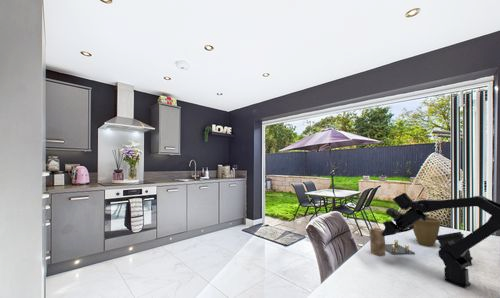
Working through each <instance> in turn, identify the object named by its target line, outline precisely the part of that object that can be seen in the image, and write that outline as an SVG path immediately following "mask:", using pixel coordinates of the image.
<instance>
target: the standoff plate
mask: <svg viewBox="0 0 500 298" xmlns="http://www.w3.org/2000/svg"><path fill="white" fill-rule="evenodd" d="M409 248H410V247H409V245H407V244H405V245H404V246H402V245H400V244H399V240H398V239H395V240H394V243H390V244H389V243H387V244H386V243H385V252H386V253H389V254H390V255H393V256H394V255H395V256H396V255H399V256H403V255H404V256H407V255H413V256H414V255H416V252H415V251H412V249H411V250H410V249H409Z"/></svg>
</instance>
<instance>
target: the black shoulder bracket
mask: <svg viewBox="0 0 500 298" xmlns="http://www.w3.org/2000/svg"><path fill="white" fill-rule="evenodd" d="M436 237H437V238H436V241H438V243H439V247H442V246H444V245H445V244H446V243H447V242H450V241H452V240H453V241H454V243H457V242H459V241H460V240H461V239H463V238H464V237H465V235H464V233H462V232H461V231H458V232H457V231H456V232H451V233H446V234H445V233H444V234H438V236H436ZM463 257H464V258H465V259H466V260H467V261H468V262H469V263H470V264H469V266H471V265H472V263H473V262H472V260H473V257H472V256H471V251H470V249H469V250H468V251H467V252H466V254H465V255H464V256H463ZM469 266H468V267H469Z"/></svg>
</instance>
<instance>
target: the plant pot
mask: <svg viewBox="0 0 500 298" xmlns="http://www.w3.org/2000/svg"><path fill="white" fill-rule="evenodd" d="M428 219H429V220H426V221H424V220H423V219H422V218H421V219H420V220H418V221H417V222H415V223H416V224H414V228H413V229H412V231H413V233H414V236H415V239H416V240H417V243H418V244H419V245H421V246H425V247H434V246H435V244H436V241H437V240H436V238H437V237H436V236H438V235H439V233H440V228H441V227H440V226H441V220H440V219H438V218H434V217H429V216H428Z"/></svg>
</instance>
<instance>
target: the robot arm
mask: <svg viewBox="0 0 500 298" xmlns="http://www.w3.org/2000/svg"><path fill="white" fill-rule="evenodd" d="M392 201H393V202H394V203H395V204H396V205H397V207H399V208H400V209H401V210H404V211H405V212H404V213H402V212H400V211H399V210H397V209H395V208H393V207H390V208H387V209H386V210H385V212H386V213H385V214H386V215H387V216H389V217H391V218H392V220H385V221H384V222H383V226H384V229H383V230H384V231H383V233H382V236H385V237H387V236H393V235H397V234H399V233H404V232H410V231H413V228H414V224H416V223H415V222H417V221H418V220H420V219H421V218H422V219H423V220H424V221H426V220H429V219H428V217H429V214H427V213H432V212H436V211H441V210H446V209H457V208H471V207H477V208H479V209H480V210H483V211H484V212H486V213H487V214H489V215H490V216H489V218H488V220H487V221H486V222H485V223H483V224H482V225H481V226H479V227H478V228H476V229H475V230H474V231H472V232H470V233H469V234H467V235H466V236H463V237H464V238H463V239H461V240H460V241H459V242H457V243H454V241H453V240H452V241H450V242H447V243H446V244H445V245H444V246H442V247H439V250H438V251H437V252H438V257H439V258H440V259H441V260H442V263H443V265H444V269H443V270H444V272H443V273H444V281H445V282H448V283H451V284H454V285H455V286H456V285H457V286H460V287H462V288H465V289H466V288H467V287H468V286H470V285H471V284H472V283H471V282H470V277H469V269H468V268H469V264H470V263H469V262H468V261H467V260H466V259H465V258H464V257H463V256H464V255H465V254H466V252H467V251H468V250H469V251H470V249H472V248H473V247H475V246H477V245H478V244H479V243H481V242H482V241H484V240H486V239H487V238H489V237H491V236H492V235H493V234H495V233H497V232H498V231H500V203H499V202H497V201H494V200H491V199H490V198H488V197H486V196H483V195H475V196H469V197H462V198H452V199H431V198H430V199H429V198H428V199H427V198H426V199H420V200H413V199H412V198H411V197H410V196H409V195H408V194H407V193H406V192H403V193H401V194H399V195H397V196H396V197H393V199H392ZM394 222H395V223H394Z"/></svg>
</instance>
